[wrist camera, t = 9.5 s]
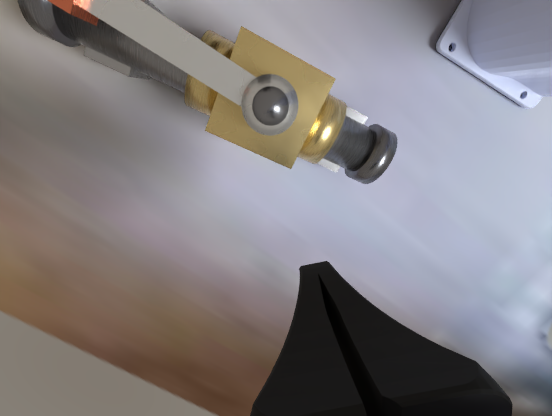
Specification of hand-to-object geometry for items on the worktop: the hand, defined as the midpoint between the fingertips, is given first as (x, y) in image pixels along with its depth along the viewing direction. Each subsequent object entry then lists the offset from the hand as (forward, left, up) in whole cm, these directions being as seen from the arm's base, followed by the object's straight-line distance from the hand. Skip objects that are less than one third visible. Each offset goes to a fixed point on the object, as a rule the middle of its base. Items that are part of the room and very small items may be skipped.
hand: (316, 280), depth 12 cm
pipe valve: (+7, -6, -10) cm, 14 cm away
